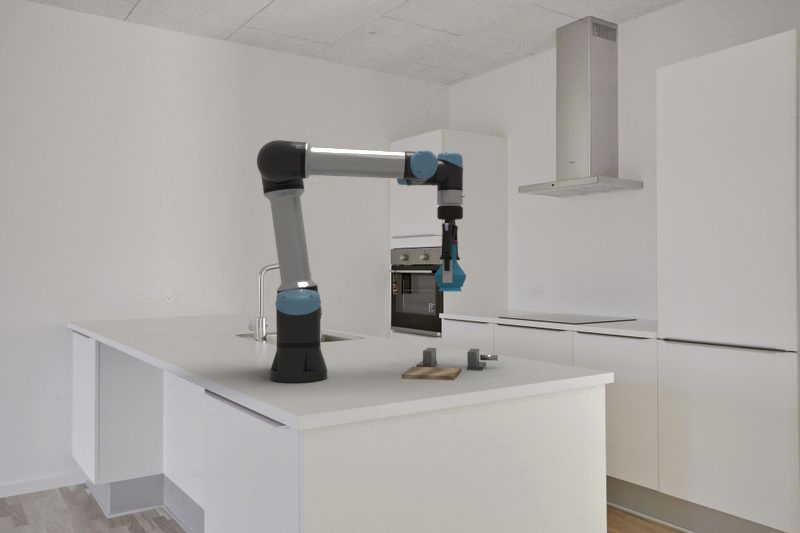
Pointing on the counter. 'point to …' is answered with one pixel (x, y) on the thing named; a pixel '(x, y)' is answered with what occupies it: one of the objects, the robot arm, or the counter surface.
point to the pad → (432, 373)
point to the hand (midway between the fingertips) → (450, 282)
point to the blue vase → (457, 274)
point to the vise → (472, 359)
